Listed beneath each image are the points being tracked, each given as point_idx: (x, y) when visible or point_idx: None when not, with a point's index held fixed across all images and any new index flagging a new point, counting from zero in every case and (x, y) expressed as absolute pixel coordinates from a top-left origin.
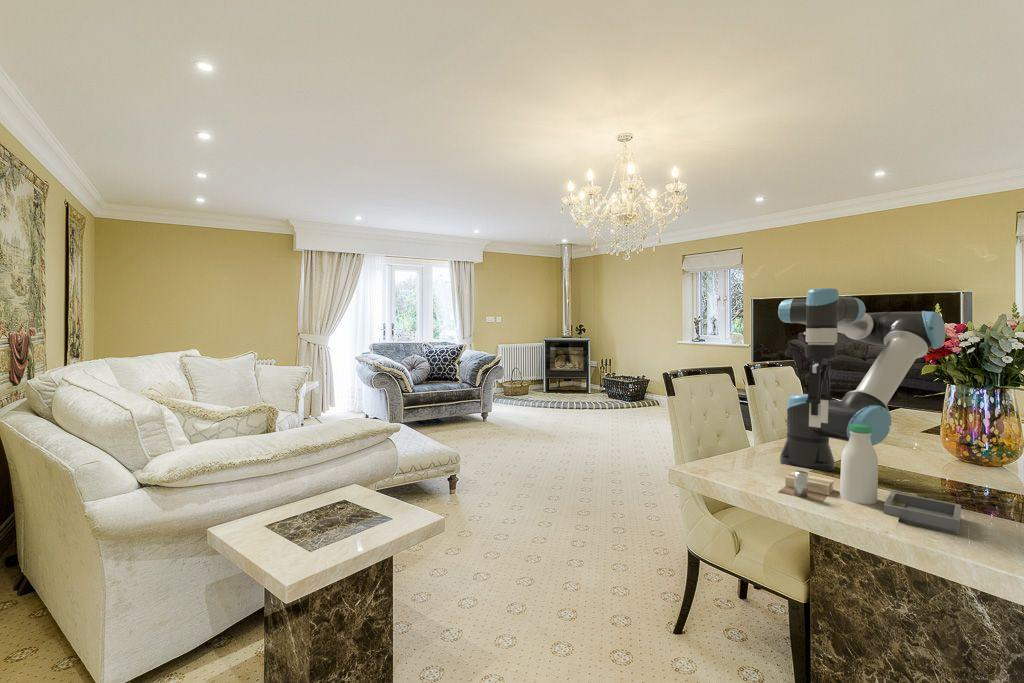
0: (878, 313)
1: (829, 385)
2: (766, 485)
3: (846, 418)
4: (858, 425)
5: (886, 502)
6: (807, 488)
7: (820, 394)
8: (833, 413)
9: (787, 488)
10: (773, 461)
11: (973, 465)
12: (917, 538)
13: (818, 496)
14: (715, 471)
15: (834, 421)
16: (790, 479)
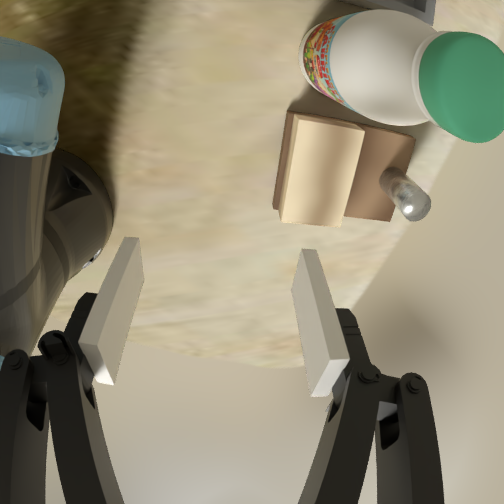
0: None
1: (8, 436)
2: (313, 246)
3: (14, 179)
4: (494, 104)
5: (411, 14)
6: (405, 175)
7: (364, 426)
8: (2, 248)
9: (351, 208)
10: (88, 269)
11: None
12: (480, 5)
13: (379, 145)
14: (269, 331)
15: (30, 219)
16: (341, 215)
